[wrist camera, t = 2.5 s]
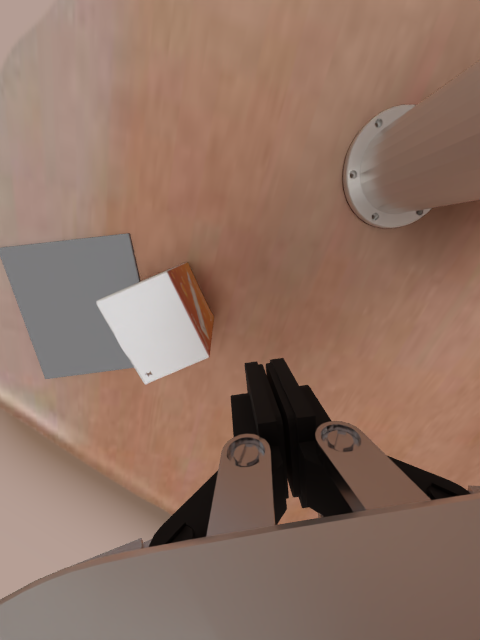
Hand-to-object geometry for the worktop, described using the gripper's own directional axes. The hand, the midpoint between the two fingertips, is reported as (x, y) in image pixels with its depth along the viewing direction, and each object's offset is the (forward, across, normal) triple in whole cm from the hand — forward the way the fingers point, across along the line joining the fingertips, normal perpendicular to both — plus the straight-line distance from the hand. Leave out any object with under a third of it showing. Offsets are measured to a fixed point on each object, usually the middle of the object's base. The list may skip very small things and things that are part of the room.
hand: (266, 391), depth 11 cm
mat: (+24, +19, 0) cm, 30 cm away
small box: (+24, +7, 0) cm, 25 cm away
